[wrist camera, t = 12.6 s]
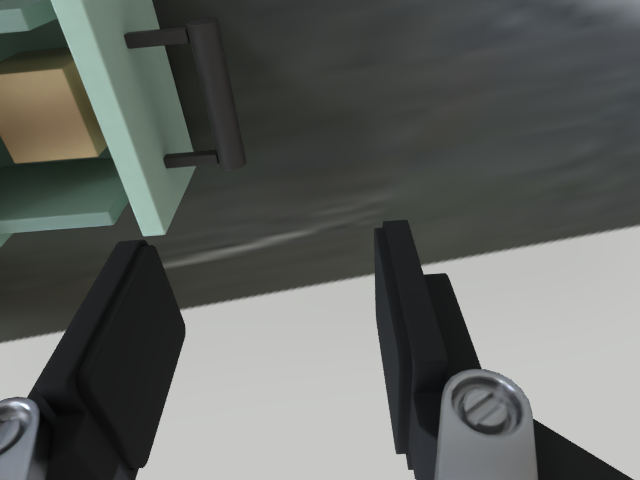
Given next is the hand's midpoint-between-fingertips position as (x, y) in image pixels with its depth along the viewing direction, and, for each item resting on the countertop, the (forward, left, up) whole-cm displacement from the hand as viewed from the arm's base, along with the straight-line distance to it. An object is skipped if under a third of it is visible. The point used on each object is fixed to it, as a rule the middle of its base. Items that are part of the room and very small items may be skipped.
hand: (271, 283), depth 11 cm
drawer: (0, -12, -19) cm, 22 cm away
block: (0, -12, -17) cm, 21 cm away
